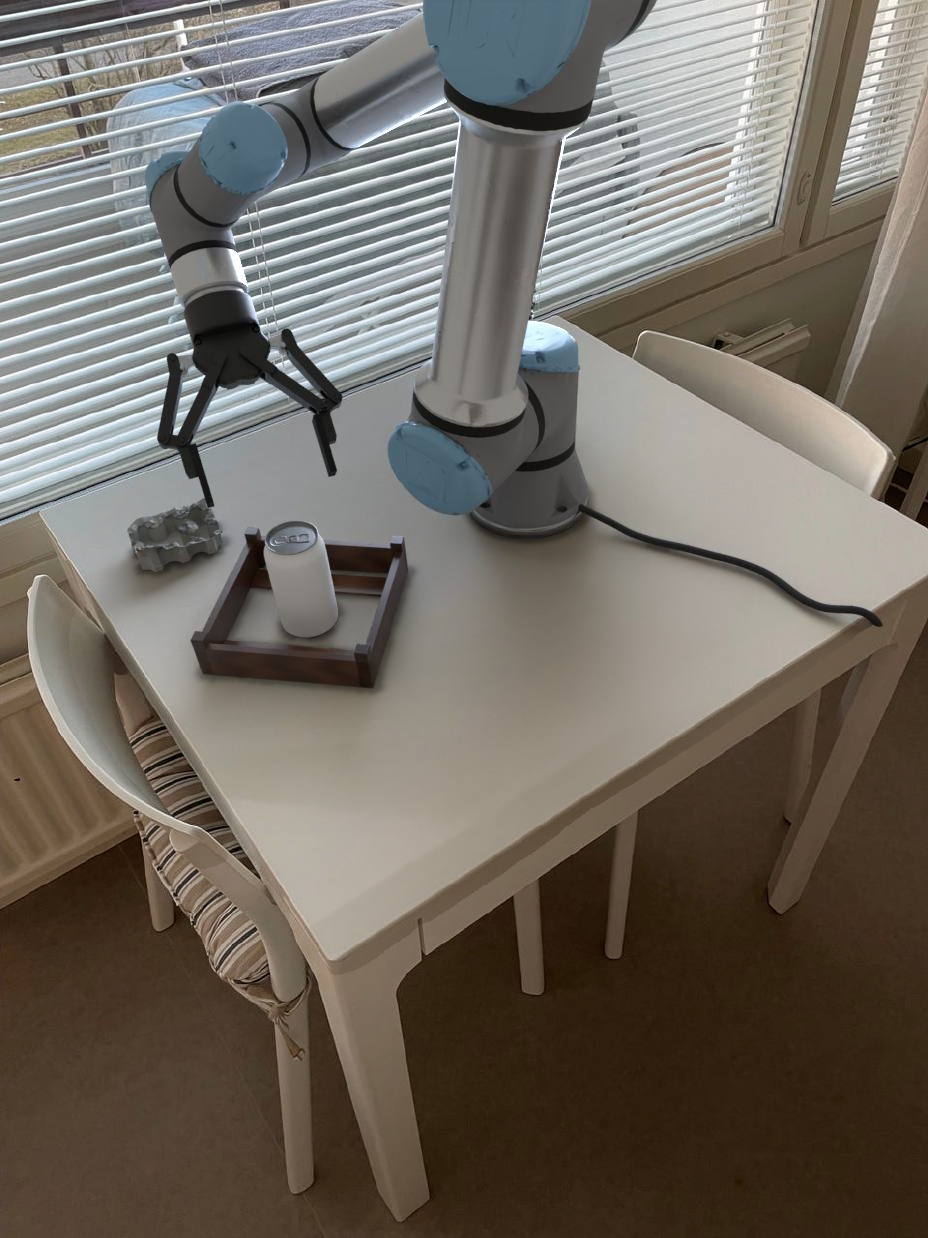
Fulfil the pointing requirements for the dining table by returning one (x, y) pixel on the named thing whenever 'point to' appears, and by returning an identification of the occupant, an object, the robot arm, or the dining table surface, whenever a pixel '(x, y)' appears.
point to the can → (300, 578)
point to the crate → (302, 660)
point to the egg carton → (175, 535)
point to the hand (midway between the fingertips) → (272, 489)
